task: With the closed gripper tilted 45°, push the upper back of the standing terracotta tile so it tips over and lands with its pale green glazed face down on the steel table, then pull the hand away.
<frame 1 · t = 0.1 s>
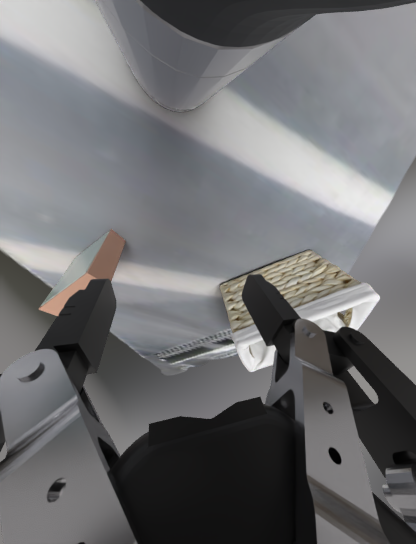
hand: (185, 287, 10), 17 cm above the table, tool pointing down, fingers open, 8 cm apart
terracotta tile: (73, 297, 18), point 10 cm above the table
storage basket: (265, 285, 40), on the table
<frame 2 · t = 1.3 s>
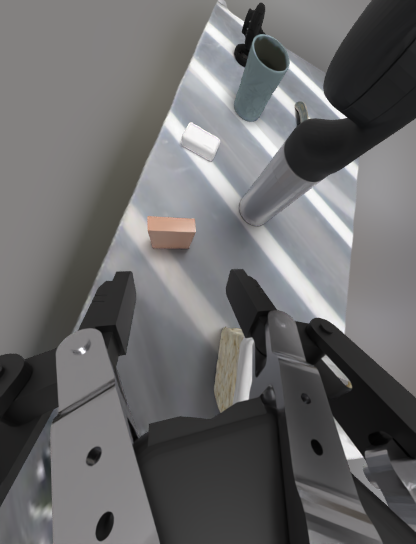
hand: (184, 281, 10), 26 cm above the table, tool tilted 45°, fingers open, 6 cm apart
terracotta tile: (172, 224, 27), point 10 cm above the table
ceramic fragment: (297, 124, 54), on the table
storage basket: (259, 362, 38), on the table
webcam: (244, 59, 52), on the table
soap: (199, 148, 43), on the table
green ceramic cup: (247, 110, 49), on the table
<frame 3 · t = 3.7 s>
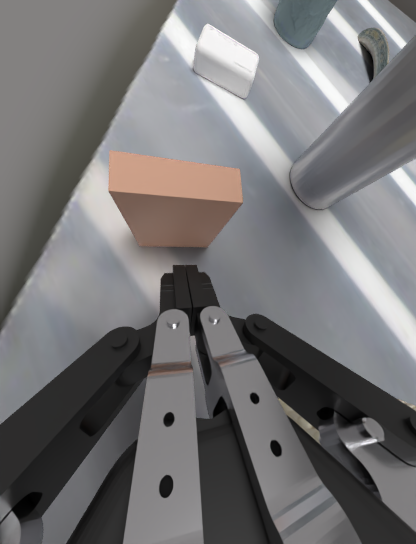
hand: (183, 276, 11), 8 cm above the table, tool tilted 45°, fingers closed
terracotta tile: (181, 178, 10), point 10 cm above the table
ceramic fragment: (364, 65, 37), on the table
storage basket: (338, 455, 21), on the table
soap: (223, 78, 26), on the table
green ceramic cup: (292, 33, 31), on the table
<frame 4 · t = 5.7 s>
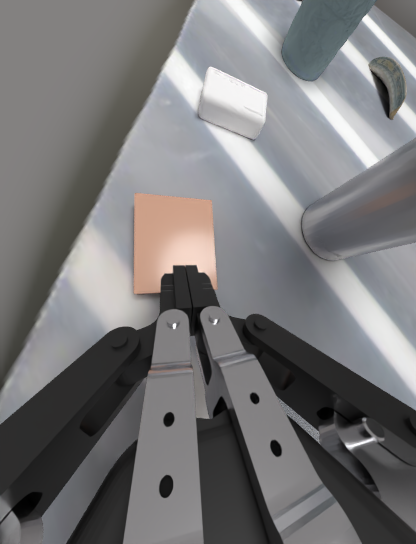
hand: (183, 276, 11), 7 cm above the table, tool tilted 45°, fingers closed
terracotta tile: (174, 203, 18), point 1 cm above the table, tilted 90°
ceramic fragment: (377, 95, 35), on the table
soap: (229, 119, 24), on the table
green ceramic cup: (301, 64, 30), on the table
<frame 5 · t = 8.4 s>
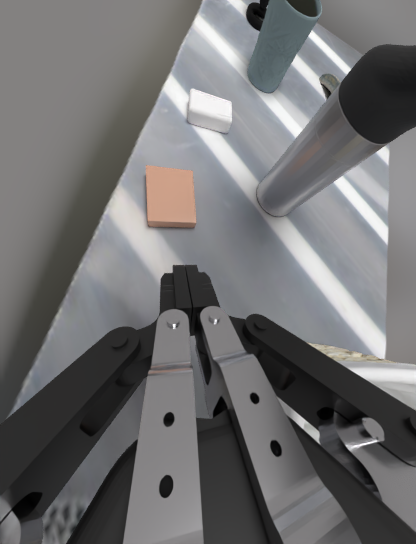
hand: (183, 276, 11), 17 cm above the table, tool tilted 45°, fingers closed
terracotta tile: (169, 173, 29), point 1 cm above the table, tilted 90°
ceramic fragment: (327, 102, 47), on the table
storage basket: (287, 382, 30), on the table
webcam: (257, 22, 44), on the table
soap: (208, 121, 35), on the table
green ceramic cup: (262, 80, 41), on the table
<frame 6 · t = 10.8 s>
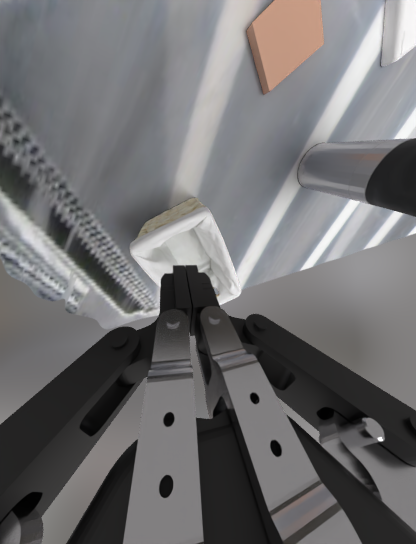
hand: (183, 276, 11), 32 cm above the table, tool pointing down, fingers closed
terracotta tile: (314, 10, 25), point 1 cm above the table, tilted 90°
storage basket: (188, 245, 45), on the table
soap: (395, 24, 28), on the table
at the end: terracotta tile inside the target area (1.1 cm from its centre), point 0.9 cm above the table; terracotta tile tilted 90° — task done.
